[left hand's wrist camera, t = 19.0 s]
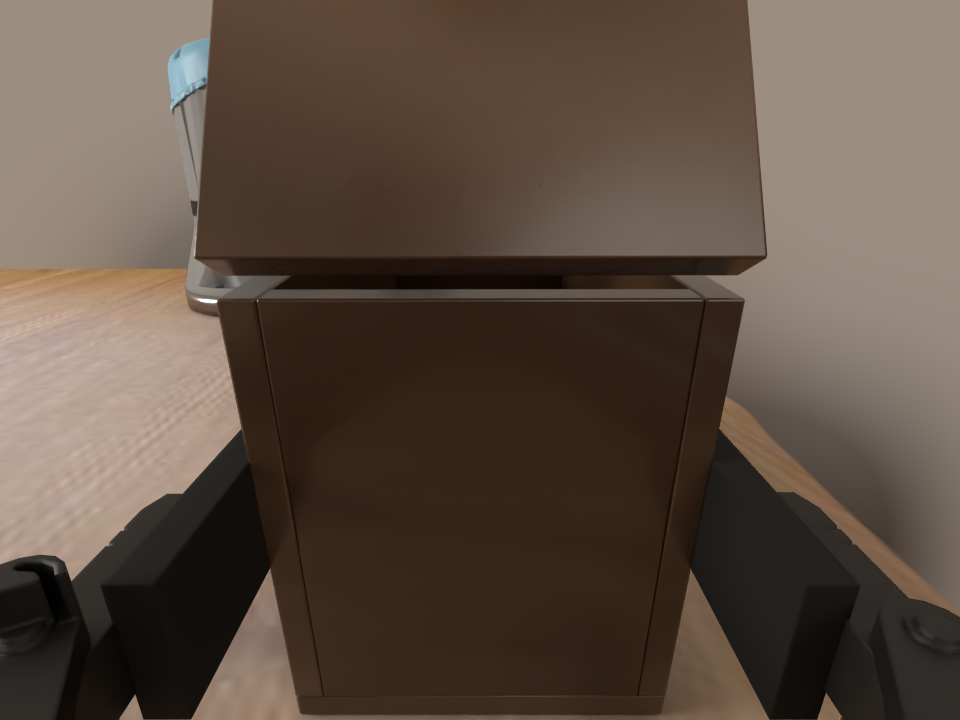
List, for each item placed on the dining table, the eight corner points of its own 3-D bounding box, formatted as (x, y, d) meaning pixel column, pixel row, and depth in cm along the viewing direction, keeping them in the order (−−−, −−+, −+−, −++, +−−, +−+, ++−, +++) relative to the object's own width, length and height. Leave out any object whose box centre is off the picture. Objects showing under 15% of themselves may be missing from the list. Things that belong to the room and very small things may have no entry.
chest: (395, 408, 28) (380, 200, 24) (564, 408, 28) (578, 200, 24) (298, 716, 13) (214, 299, 9) (662, 715, 13) (747, 298, 9)
